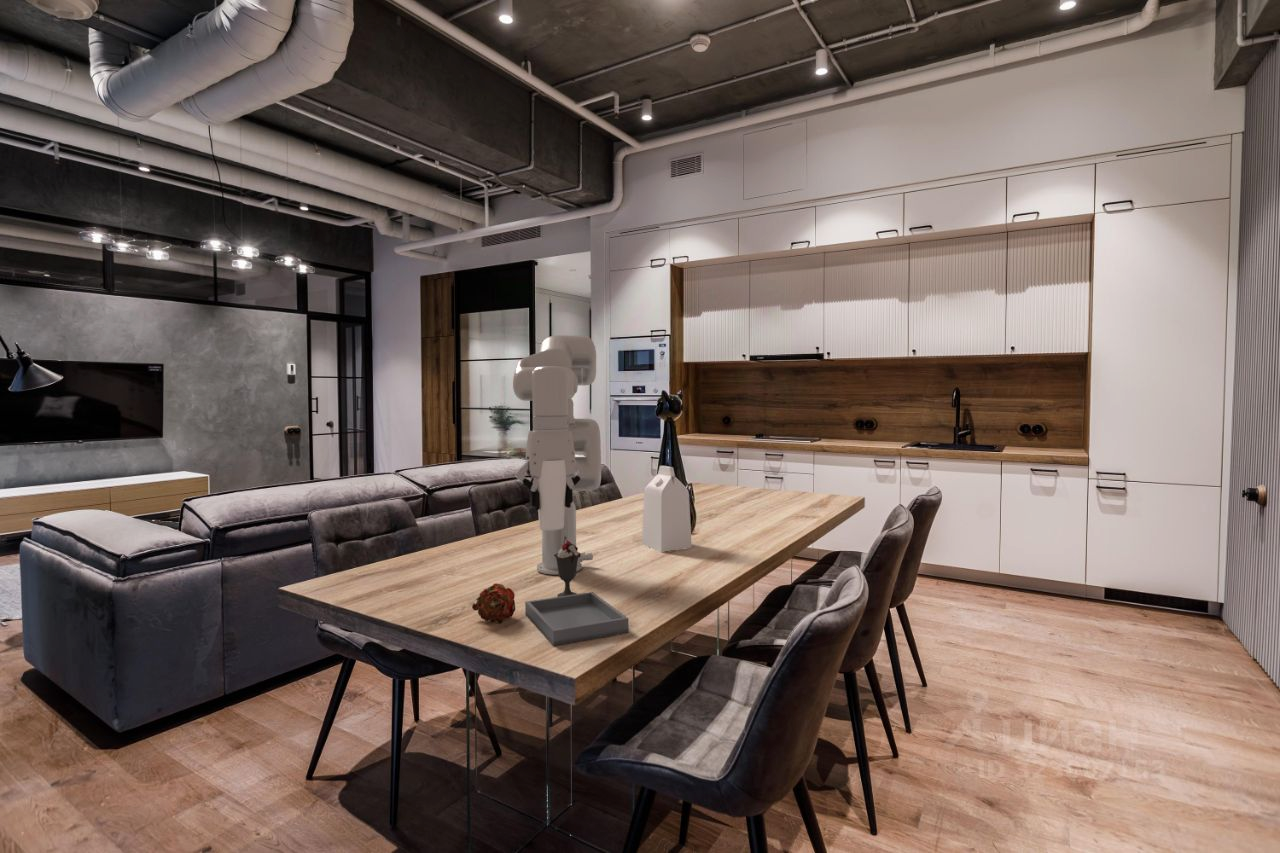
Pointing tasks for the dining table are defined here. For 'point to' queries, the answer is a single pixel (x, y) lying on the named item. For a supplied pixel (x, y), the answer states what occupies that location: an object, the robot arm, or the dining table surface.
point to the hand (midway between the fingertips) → (551, 507)
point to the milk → (666, 513)
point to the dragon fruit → (495, 603)
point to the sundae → (567, 565)
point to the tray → (575, 618)
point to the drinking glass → (552, 495)
